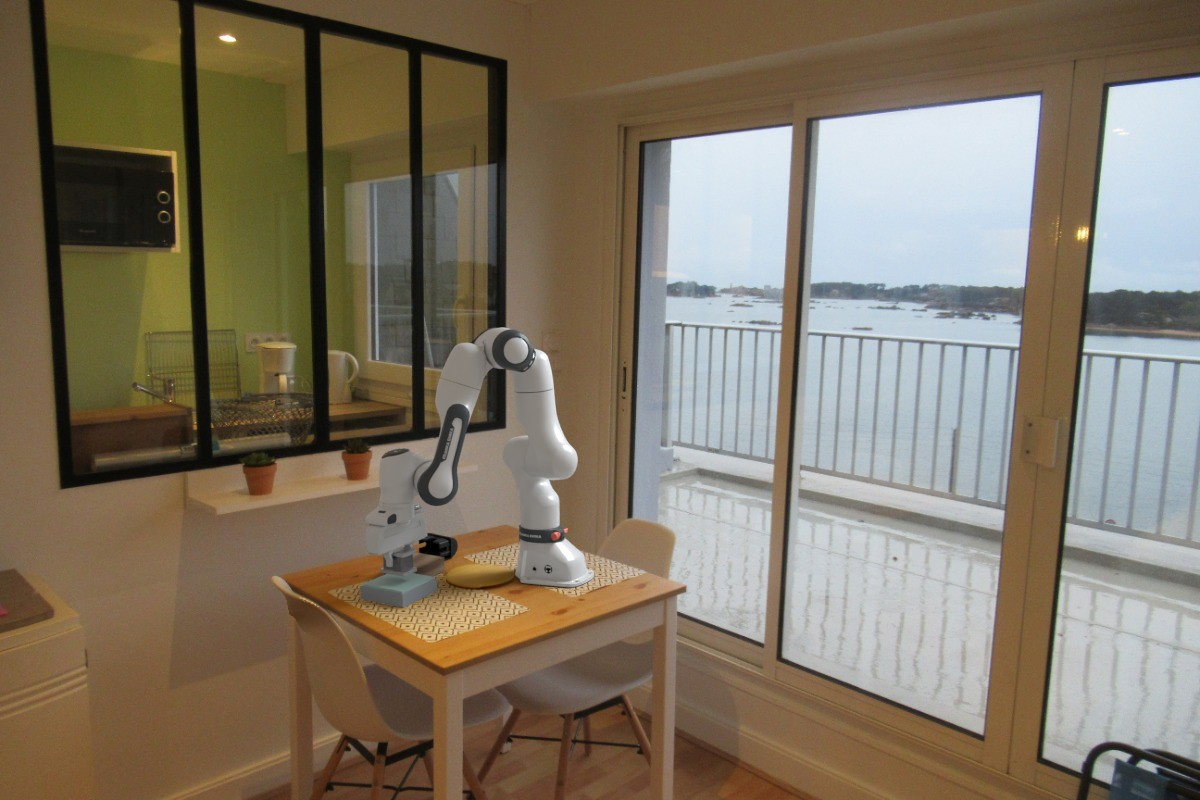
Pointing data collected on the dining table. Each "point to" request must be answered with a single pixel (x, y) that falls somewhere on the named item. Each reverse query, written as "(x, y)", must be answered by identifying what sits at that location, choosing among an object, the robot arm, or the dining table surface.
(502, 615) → the dining table surface
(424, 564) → the stand
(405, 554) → the block
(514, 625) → the dining table surface
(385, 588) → the stand
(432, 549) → the end cap
